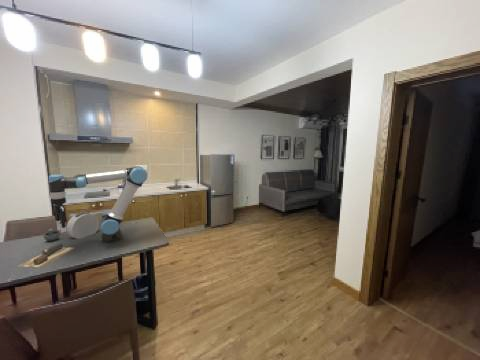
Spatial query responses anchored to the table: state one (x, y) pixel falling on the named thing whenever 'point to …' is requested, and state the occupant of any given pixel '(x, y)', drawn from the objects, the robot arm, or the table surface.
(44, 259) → the board
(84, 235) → the alarm clock
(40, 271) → the table surface
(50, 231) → the mortar and pestle
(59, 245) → the latch bar
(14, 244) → the table surface
